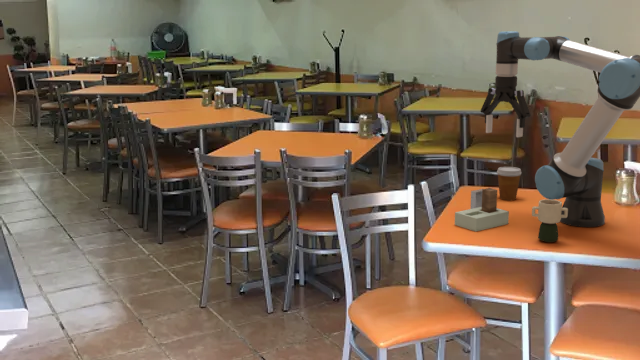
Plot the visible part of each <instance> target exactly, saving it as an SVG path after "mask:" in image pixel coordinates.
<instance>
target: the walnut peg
mask: <svg viewBox="0 0 640 360" xmlns="http://www.w3.org/2000/svg"><path fill="white" fill-rule="evenodd" d="M481 189H482V211H484V212H487V213H492V212H496V210H497V208H498V204H497V203H498V189H496V188H492V187H488V188H481Z"/></svg>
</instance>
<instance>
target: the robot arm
mask: <svg viewBox="0 0 640 360" xmlns="http://www.w3.org/2000/svg"><path fill="white" fill-rule="evenodd" d="M495 45H496V61H495V62H496V63H495V75H496V76H495V79H494V80H495V81H494V85H495V87H488V90H487V91H488V92H487V95H486V98H485V99H484V101H483V104H482V106H481V108H480V113H482V114H484V124H485V133H486V134H490V133H493V120H494V117H493V116H494V115H493V111H494V110H495V109H496V108H497V107H498V106H499V105H500V103H502V102H503V103H509V104H510V105H511V107H512V108H513V111H514V112H515V114H516V115H517V117H518V118H516V133H515V137H516V138H521V137H524V136H523V135H524V134H523V133H524V129H525V126H526V119H527V118H530V117H531V112H530V109H529V107H528V104H527V101H526V99H525V93H524V90H523V89H521V90H520V89H519V90H517V85H518V77H517V75H518V70H519V69H518V68H519V67H518V66H519V65H518V64H519V60H527V61H528V60H529V61H542V60H546V59H547V60H548V59H550V60H551V59H552V60H556V61H560V62H564V63H568V64H570V65H573V66H576V67H581V68H583V69H587V70H591V71H594V72H597V73H600V74H599V76H598V81H599V83H598V88H597V89H596V90H597V91H596V92H597V94H598V97H597V98H596V100H595V101H594V102H593V105H592V107H591V108H590V109H589V111H587V112H588V113H587V114H586V115H585V117H584V118H583V120H582V121H581V123H580V124H579V126H578V127H577V129H576V131H575V132H574V133H573V135H572V137H571V138H570V139H569V141H568V143H567V144H566V146H565V147H564V148H563V150H562V151H561V152H557V153H555V154H554V155H553V157H551V160H550V161H549V163H548V164H547V165H542V166H541V167H539V168H538V169H537V170H536V173H535V175H534V182H535V187H536V189H537V192H539V194H540V195H541V196H542V197H543V198H545V199H551V200H558V201H559V200H561V199H564V202H563V203H562V208H568V216H567V218H561V220H560V222H561V223H563V224H566V225H569V226H572V227H573V226H574V227H578V228H579V227H580V228H597V227H602V226H603V225H604V224H605V223H606V216H605V212H604V209H603V205H602V192H603V191H602V189H603V178H604V171H605V170H604V162H603V160H602V159H601V158H596V157H593V155H595V153H596V151H597V150H598V149H599V147H600V145H601V144H602V143H603V141H604V140H605V138H606V137H607V135H608V134H609V132H611V131H612V128H613V127H614V125H615V124H616V122H617V121H618V120H619V118H620V117H621V116H622V114H623V113H624V111H630V110H631V109H633V107H634V105H635V104H637V102H638V100H639V99H640V55H639V54H633V55H627V54H623V53H619V52H616V51H615V52H614V51H611V50H607V49H604V48H599V47H597V46H592V45H589V44H586V43H581V42H577V41H575V40H571V39H570V38H568V37H566V36H562V35H557V36H544V37H543V36H534V37H533V36H531V37H525V36H524V37H521V36H520V32H519V31H514V30H513V31H511V30H510V31H508V30H507V31H499V32H498V33H497V38H496V44H495ZM564 213H565V211H561V215H564Z"/></svg>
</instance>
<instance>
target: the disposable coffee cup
mask: <svg viewBox="0 0 640 360" xmlns="http://www.w3.org/2000/svg"><path fill="white" fill-rule="evenodd" d="M496 174H497V180H498V193H499V199H500V200H503V201H514V200H516V199H517V196H518V190H519V184H520V179H521V175H522V170H521V168H519V167H514V166H500V167H498V168H497V171H496Z"/></svg>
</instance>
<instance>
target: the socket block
mask: <svg viewBox="0 0 640 360" xmlns="http://www.w3.org/2000/svg"><path fill="white" fill-rule="evenodd" d="M509 215H510V211H508V210H505V209H501V208H498V207H497V210H496V212H492V213H487V212H484V211H482V207H478V208H473V209H471V208H468V209H465V210H461V211H455V212H454V226H458V227H460V228H463V229H466V230H470V231H472V232H481V231H484V230H487V229H492V228H496V227H500V226H504V225H508V224H509V218H510V217H509Z"/></svg>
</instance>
